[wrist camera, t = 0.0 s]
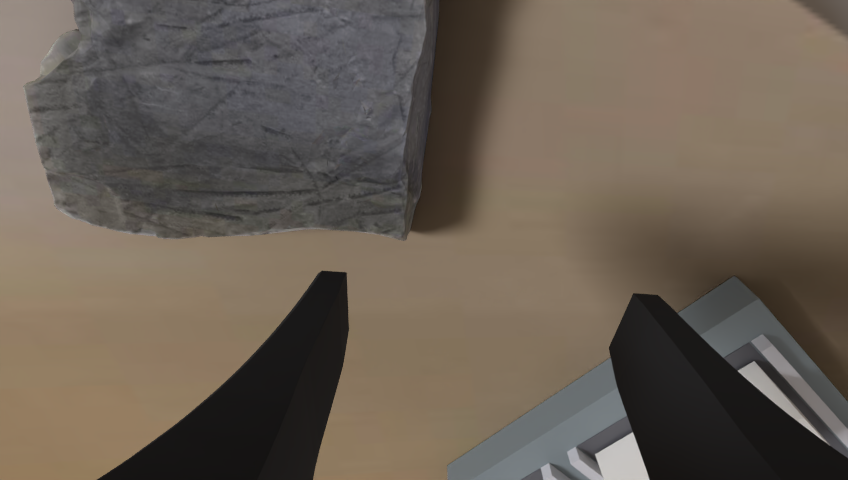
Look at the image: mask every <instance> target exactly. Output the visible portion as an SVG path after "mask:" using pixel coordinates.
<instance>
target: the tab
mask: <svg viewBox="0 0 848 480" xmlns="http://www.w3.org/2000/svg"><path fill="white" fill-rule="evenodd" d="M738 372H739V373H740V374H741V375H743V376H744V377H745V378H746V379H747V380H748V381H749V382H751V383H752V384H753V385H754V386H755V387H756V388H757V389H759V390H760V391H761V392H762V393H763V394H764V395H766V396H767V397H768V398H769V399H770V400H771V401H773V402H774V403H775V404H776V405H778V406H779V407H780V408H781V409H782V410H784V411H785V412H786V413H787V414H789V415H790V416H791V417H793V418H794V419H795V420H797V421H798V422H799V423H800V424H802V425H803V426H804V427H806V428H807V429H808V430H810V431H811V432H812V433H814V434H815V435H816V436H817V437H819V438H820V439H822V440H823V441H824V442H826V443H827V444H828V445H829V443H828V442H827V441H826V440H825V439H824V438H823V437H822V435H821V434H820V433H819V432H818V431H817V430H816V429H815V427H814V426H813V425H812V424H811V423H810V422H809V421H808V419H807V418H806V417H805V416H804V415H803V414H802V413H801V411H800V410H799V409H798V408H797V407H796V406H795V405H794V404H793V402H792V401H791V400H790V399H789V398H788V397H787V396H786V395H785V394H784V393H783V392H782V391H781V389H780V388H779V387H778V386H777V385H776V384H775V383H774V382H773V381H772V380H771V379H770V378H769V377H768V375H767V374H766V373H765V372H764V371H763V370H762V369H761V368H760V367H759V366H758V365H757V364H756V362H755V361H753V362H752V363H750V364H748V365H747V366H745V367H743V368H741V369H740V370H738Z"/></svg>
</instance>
